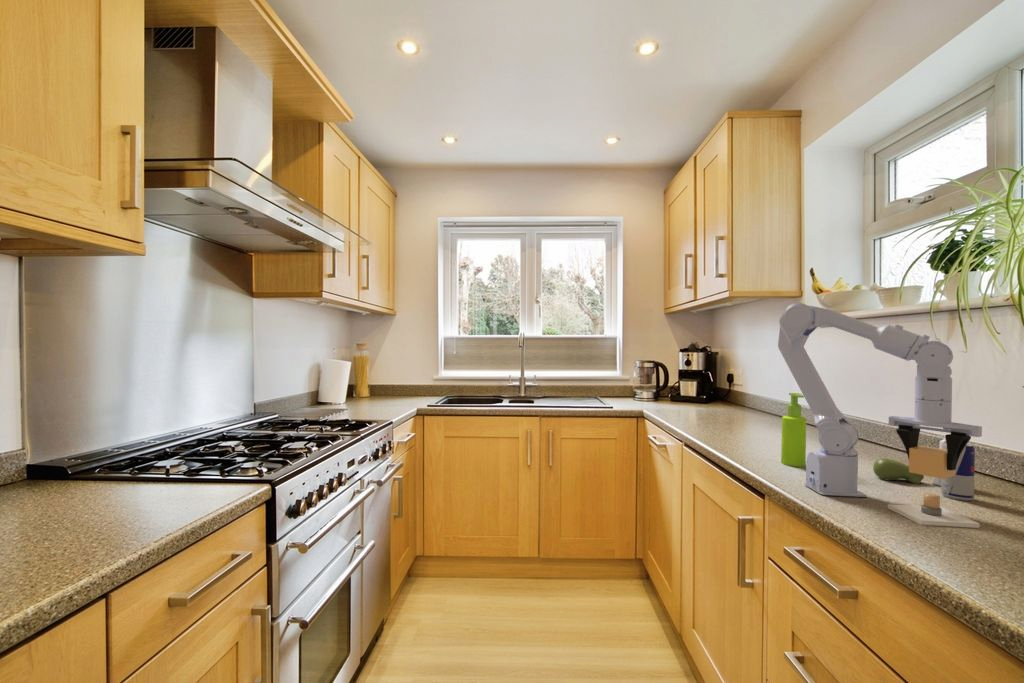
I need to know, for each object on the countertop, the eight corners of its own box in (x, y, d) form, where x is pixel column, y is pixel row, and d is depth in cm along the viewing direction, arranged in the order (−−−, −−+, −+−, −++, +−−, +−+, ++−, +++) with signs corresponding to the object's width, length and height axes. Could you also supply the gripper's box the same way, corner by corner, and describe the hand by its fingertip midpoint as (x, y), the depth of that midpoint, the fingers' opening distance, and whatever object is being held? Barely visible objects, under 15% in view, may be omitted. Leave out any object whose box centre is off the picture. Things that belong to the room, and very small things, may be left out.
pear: (872, 454, 124) (918, 464, 120) (867, 473, 124) (914, 484, 121) (880, 458, 118) (929, 469, 115) (876, 479, 119) (925, 490, 115)
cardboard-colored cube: (943, 479, 94) (944, 453, 94) (908, 472, 99) (909, 448, 99) (954, 475, 97) (955, 451, 97) (920, 469, 102) (921, 445, 102)
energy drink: (980, 502, 103) (981, 446, 103) (951, 500, 104) (952, 445, 104) (962, 494, 109) (963, 441, 109) (935, 492, 110) (936, 440, 110)
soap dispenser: (787, 467, 131) (788, 394, 131) (777, 461, 138) (779, 391, 138) (811, 468, 130) (812, 394, 130) (800, 462, 137) (801, 392, 137)
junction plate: (920, 524, 89) (921, 501, 89) (888, 508, 98) (888, 487, 98) (979, 527, 88) (979, 504, 88) (940, 510, 97) (941, 489, 97)
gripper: (988, 402, 94) (987, 472, 94) (899, 395, 106) (898, 456, 106) (974, 404, 90) (973, 476, 90) (884, 396, 103) (883, 459, 103)
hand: (931, 466), depth 98 cm, fingers closed on cardboard-colored cube, 6 cm apart
